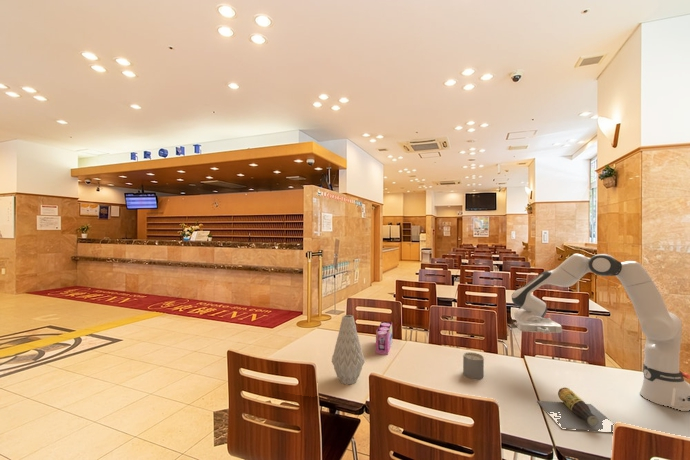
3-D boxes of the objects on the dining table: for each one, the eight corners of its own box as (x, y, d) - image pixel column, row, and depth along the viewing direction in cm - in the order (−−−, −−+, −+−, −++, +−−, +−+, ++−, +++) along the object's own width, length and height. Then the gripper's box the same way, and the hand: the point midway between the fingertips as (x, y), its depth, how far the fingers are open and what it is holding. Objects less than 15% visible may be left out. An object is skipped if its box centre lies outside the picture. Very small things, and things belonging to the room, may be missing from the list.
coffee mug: (482, 381, 156) (482, 361, 156) (461, 376, 161) (461, 357, 161) (485, 370, 168) (485, 352, 168) (466, 366, 173) (466, 348, 173)
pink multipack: (387, 355, 188) (387, 333, 188) (374, 354, 190) (374, 332, 190) (392, 342, 211) (392, 322, 211) (381, 340, 213) (381, 321, 213)
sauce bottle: (563, 383, 138) (592, 407, 118) (575, 393, 137) (606, 419, 117) (553, 394, 138) (581, 420, 118) (565, 404, 137) (595, 432, 118)
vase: (367, 374, 163) (367, 313, 163) (360, 390, 147) (360, 322, 147) (337, 370, 168) (337, 310, 168) (327, 385, 152) (327, 319, 152)
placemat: (590, 405, 135) (590, 403, 135) (624, 433, 116) (624, 432, 116) (537, 402, 137) (537, 400, 137) (561, 429, 119) (561, 427, 119)
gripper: (512, 316, 168) (524, 324, 155) (552, 318, 166) (568, 326, 152) (512, 328, 168) (524, 337, 155) (552, 329, 166) (568, 339, 152)
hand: (546, 331), depth 153 cm, fingers closed
